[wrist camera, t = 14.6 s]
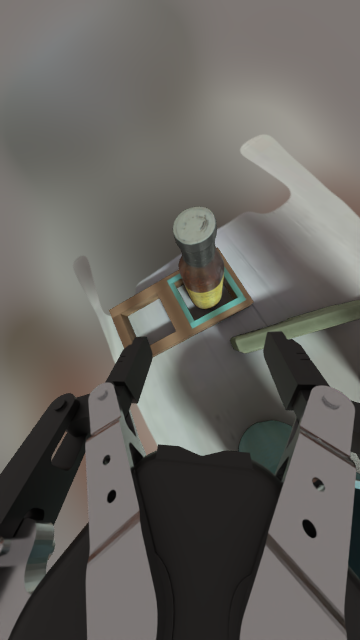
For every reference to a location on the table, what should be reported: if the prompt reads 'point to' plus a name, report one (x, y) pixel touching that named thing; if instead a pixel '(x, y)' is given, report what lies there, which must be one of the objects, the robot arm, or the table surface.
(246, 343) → the grey-green long slab
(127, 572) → the robot arm
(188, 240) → the sauce bottle
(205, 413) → the table surface
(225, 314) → the brown double window frame
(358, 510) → the flower pot
